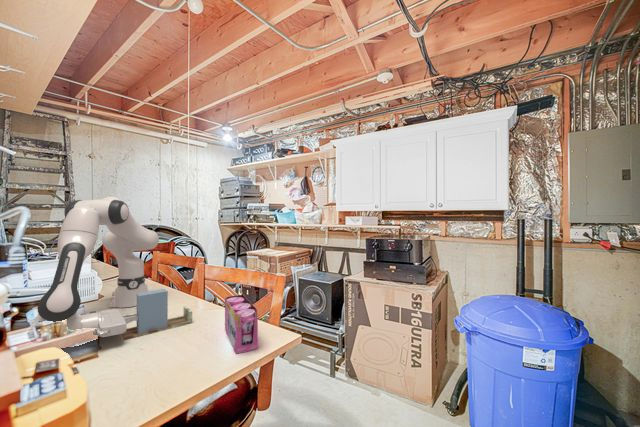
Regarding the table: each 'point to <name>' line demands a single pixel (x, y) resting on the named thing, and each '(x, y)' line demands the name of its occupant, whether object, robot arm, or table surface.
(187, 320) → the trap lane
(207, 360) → the table surface
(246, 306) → the gum box
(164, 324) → the pillar block
